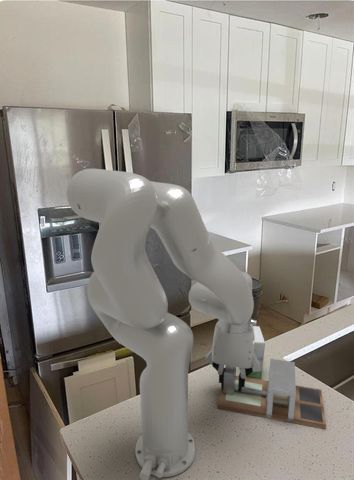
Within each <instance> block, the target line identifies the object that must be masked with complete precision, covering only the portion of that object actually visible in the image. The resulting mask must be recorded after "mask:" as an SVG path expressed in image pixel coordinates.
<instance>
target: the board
mask: <svg viewBox="0 0 354 480" xmlns="http://www.w3.org/2000/svg"><path fill="white" fill-rule="evenodd" d="M238 383H239V375H236V380H235V386H238ZM268 383H269V380H265V379H261V380H260V379H254V378H248V377H246V378H245V386H244V387H246V388H252V389H257V390H263V391H267V385H268ZM266 398H267V396H261V395H256V394H250V393H244V392H239V391H234V394H228V393H223V389H221V388H220V394H219V397H218V401H217V410H224V411H228V412H234V413H239V414H245V415H249V416H256V417H260V418H263V419H264V418H266V414H267V403H266ZM288 408H289V407H285V406H279V405H274V404H273V406H272V415H271V414H269V415H271V416H272V418H271V417H270V418H271V419H270V418H269V419H270V420H275V421H282V422H287V423H290V422H289V421H288V419H289V418H288ZM267 417H268V416H267ZM266 419H267V418H266ZM290 419H292V418H290ZM292 424H297V425H302V426H308V427H313V428H317V429H322V430H326V429H327V422H326V415H325V406H324V399H323V392H322V389H320V388H313V387H308V386H307V387H306V386H303V385H302V386H300V385H296V398H295V408H294V418H293V421H292Z"/></svg>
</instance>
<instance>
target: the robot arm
mask: <svg viewBox="0 0 354 480" xmlns="http://www.w3.org/2000/svg"><path fill="white" fill-rule="evenodd" d="M66 199H67V202H68V206H69V207H70V209H71V210H72V211H73V212H74V213H75V214H76V215H77V216H79V217H81V218H83V219H86V220H88V221H91V222H92V221H93V222H95V223H100V225H99V228H98V230H97V234H96V237H95V240H94V242H93V243H94V244H93V246H92V249H91V255H90V256H91V257H90V259H91V260H90V261H91V266H92V269H93V272H92V273H91V274H90V277H89V279H88V282H87V288H86V293H87V294H86V295H87V298H88V302H89V304H90V307H91V308H92V309H93V311H94V313H95V314H96V316H97V317H98V318H99V320H100V321H101V322H102V324H103V325H104V327H105V328H106V330H107V331H108V333H109V334H110V335H111V337H113V339H115V341H116V342H117V343H119V344H120V345H122V346H124V347H125V348H127V349H128V350H130V351H132V352H133V353H134V354H136V355H138V356H139V357H140V358H142V359H143V361H145V363H146V367H145V368H144V369H143V371H142V372H141V374H140V377H139V395H140V397H139V398H140V399H139V400H140V416H141V417H140V419H141V434H140V435H139V437H138V439H137V440H136V443H135V450H134V452H135V459H136V462H137V463H138V465H139V467H140V468H141V471H140V473H139V475H138V476H139V479H140V480H149V479H150V476H151V475H152V476H154V477H157V478H158V479H161V478H169V477H170V478H171V477H174V476H177V475H179V474H181V473H183V472H184V471H186V470H187V469H188V468H189V467H190V466H191V465H192V463H193V462H194V460H195V456H196V442H195V440H194V438H193V436H192V434H191V433H190V432H189V367H190V361H191V356H192V351H193V347H194V334H193V331H192V329H191V327H190V326H189V325H188V323H186V322H185V321H184V320H182V319H181V318H179V317H177V316H176V315H174V314H171V313H170V312H168V308H169V307H168V306H169V304H168V297H167V295H166V291H165V290H164V287H163V286H162V284H161V282H160V279H159V278H158V276H157V274H156V272H155V270H154V268H153V265H152V264H151V262H150V260H149V257H148V255H147V253H146V240H147V237H148V234H149V231H150V229H153V230H154V231H155V232H156V234H157V236H158V237H159V240H160V241H161V243H162V244H163V246H164V248H165V250H166V252H167V253H168V256H169V257H170V260H171V261H172V262H173V264H174V266H175V267H176V268H177V270H179V271H180V272H182V273H183V274H185V275H186V276H187V277H188V278H190V279H191V280H193V281H195V283H194V284H193V285H192V286H191V287H190V289H189V291H188V302H189V304H190V306H191V308H193V309H194V310H195V311H198V312H200V313H202V314H205V315H206V316H207V315H208V316H210V317H212V318H215V319H218V321H217V322H216V324H215V327H214V333H213V338H212V348H211V349H210V351H209V352H208V353H207V355H206V356H205V359H204V360H205V362H207V363H208V364H209V365H211V366H212V367H213V368H214V369H215V370H216V372H217V374H218V384H220V390H221V389H223V388H224V370H225V366H226V365H227V366H233V367H236V368H239V375H238V376H239V383H238V391H239V392H241V389H242V387H244V386H245V378H246V376H248V375H249V374H251V373H252V372H253V371H257V370H260V369H261V364H260V363H259V361H258V359H257V358H256V356H255V338H254V329H253V326H257V319H253V318H252V315H253V313H254V306H255V303H254V297H253V279H252V276H251V275H250V274H248V273H247V272H245V271H241V269H239V267H237V265H235V264H234V262H232V260H230V258H228V256H226V255H225V254H224V253H223V252H222V251H221V250H220V249H219V248H218V247H217V246H215V245H214V243H213V241H212V238H211V237H210V233H209V232H208V230H207V227H206V224H205V223H204V220H203V218H202V217H203V216H202V215H201V213H200V211H199V209H198V206H197V204H196V202H195V200H194V197H193V195H192V193H191V192H190V191H189V190H188V189H186V188H185V187H184V186H181V185H179V184H178V185H177V184H174V183H167V182H157V181H153V180H152V181H150V180H149V179H147V178H146V177H144V176H143V175H140V174H137V173H134V172H129V171H128V172H127V171H121V170H110V169H102V168H85V169H82V170H80V171H78V172H77V173H75V174H74V175H72V178H70V180H69V181H68V184H67V187H66Z"/></svg>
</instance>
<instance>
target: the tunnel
mask: <svg viewBox="0 0 354 480" xmlns="http://www.w3.org/2000/svg"><path fill="white" fill-rule="evenodd" d="M295 362H296V361H295ZM295 362H294V361H287V360H283V359H282V360H281V359H276V358H270V359H269V372H268V381H269V383H268V384H269V387H268V400H267V414H266V419H270V420H272V419H271V418H272V416H271V415H272V406H273V394H274V393H276V394H282V395H288V396H290V398H289V408H288V418H289V419H288V421H289V422H288V423H292V421H293V418H294V408H295V398H296V386H297V385H296V364H295ZM269 414H271V415H269ZM267 416H268V417H267ZM270 417H271V418H270ZM290 418H292V419H290ZM292 424H293V423H292Z"/></svg>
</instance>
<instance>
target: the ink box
mask: <svg viewBox="0 0 354 480" xmlns="http://www.w3.org/2000/svg"><path fill="white" fill-rule="evenodd" d="M253 329H254V338H255V356H256V358H257V359H258V361H259V363H260V364H261V369H260V370H257V371H253V372H252V373H251V374H249V375H248V376H246V377H248V378H254V379H260V380H263V379H262V376H263V366H264V359H265V358H264V357H265V347H266V342H265V339H264V336H263V333H262V330H261V328H260V326H259V325H258V326H257V325H256V326H253Z"/></svg>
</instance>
